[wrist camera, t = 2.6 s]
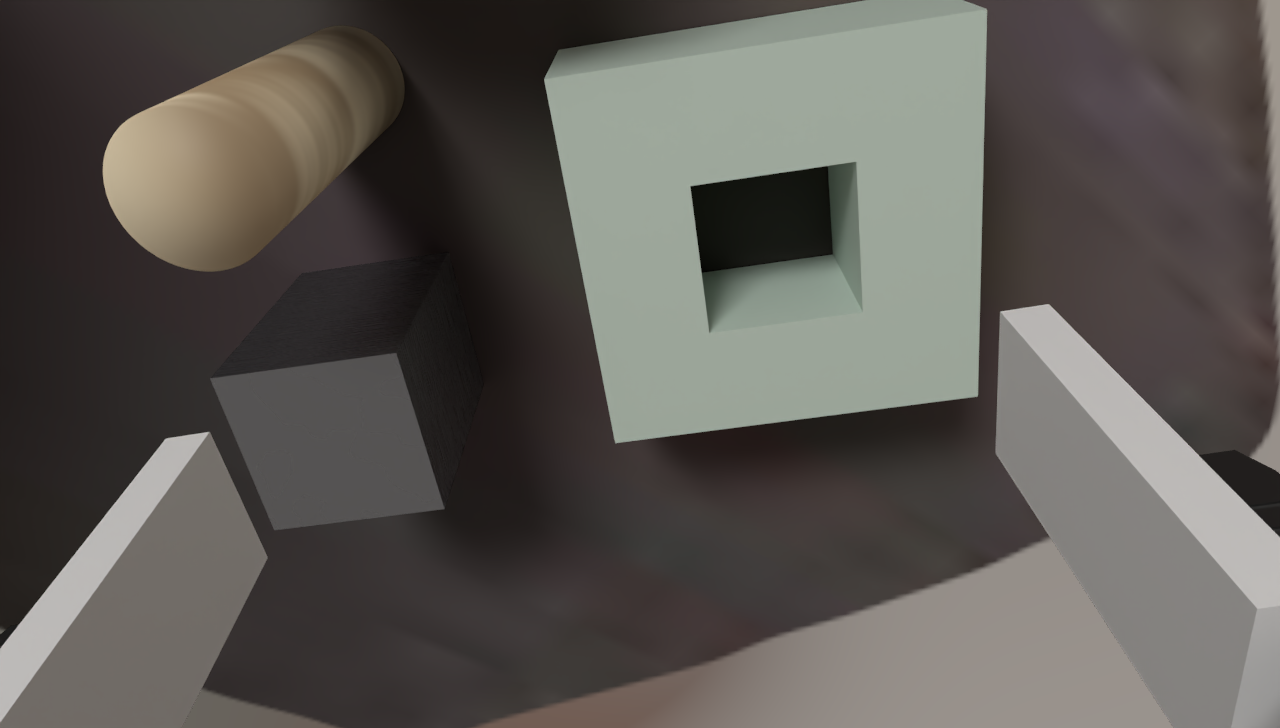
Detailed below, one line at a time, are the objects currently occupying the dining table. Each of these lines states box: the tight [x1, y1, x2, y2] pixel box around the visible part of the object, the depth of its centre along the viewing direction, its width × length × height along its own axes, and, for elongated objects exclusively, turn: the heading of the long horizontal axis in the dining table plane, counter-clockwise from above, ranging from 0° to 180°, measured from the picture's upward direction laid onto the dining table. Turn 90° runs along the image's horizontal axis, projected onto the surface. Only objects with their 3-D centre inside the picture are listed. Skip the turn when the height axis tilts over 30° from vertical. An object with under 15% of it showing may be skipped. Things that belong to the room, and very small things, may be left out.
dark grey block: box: [210, 252, 484, 530], centre depth 31 cm, size 6×6×8 cm
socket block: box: [544, 0, 987, 443], centre depth 30 cm, size 12×12×5 cm
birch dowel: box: [103, 25, 405, 272], centre depth 25 cm, size 4×4×12 cm
